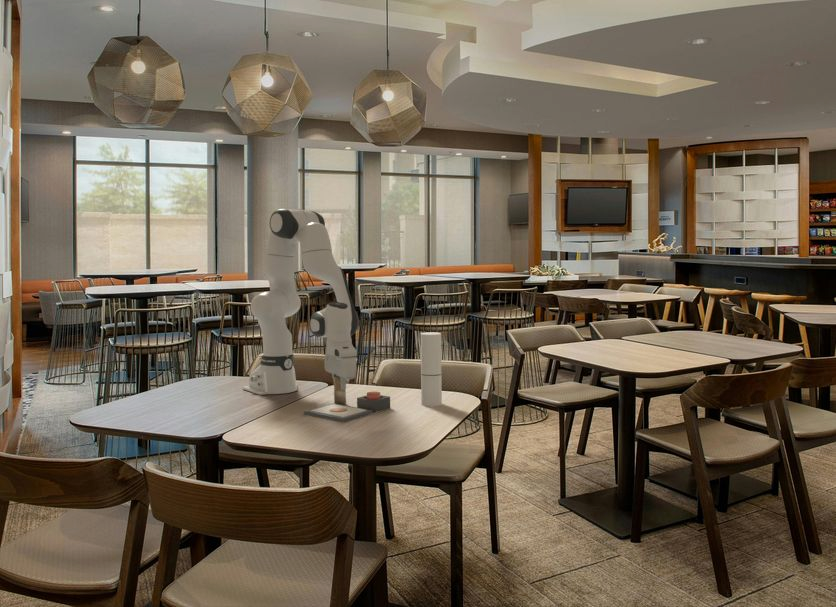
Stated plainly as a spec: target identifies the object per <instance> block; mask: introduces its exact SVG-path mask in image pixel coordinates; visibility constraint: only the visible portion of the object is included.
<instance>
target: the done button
mask: <svg viewBox="0 0 836 607" xmlns="http://www.w3.org/2000/svg"><path fill="white" fill-rule="evenodd" d="M366 395H367V399H372V400H376V399H379V398H380V395H381V392H380V391H369V392H366Z"/></svg>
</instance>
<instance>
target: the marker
mask: <svg viewBox="0 0 836 607" xmlns="http://www.w3.org/2000/svg"><path fill="white" fill-rule="evenodd" d="M340 384H341V380H340V377H339V376H337V375H336V374H334V381H333V394H334V396H333V398H334V399H333V400H334V402H333V403H335V404H341V405H346V406H347V398H346V397H347V396H346V395H347V393H346V390H347V389H344V390H342V389H340Z"/></svg>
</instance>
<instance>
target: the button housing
mask: <svg viewBox="0 0 836 607" xmlns="http://www.w3.org/2000/svg"><path fill="white" fill-rule="evenodd" d="M356 407H357V408H362V409H368V410H373V414H374V413H375V414H376V413H378V412H383V411H386V410H388V409H391V396H388V395H383V394H380V398H379V399H376V400H372V399H367V394H366V395H363V396H359V397H357V398H356ZM382 410H383V411H382Z"/></svg>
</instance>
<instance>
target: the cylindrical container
mask: <svg viewBox="0 0 836 607" xmlns="http://www.w3.org/2000/svg"><path fill="white" fill-rule="evenodd" d="M420 378H421V379H420V387H421V388H420V390H421V392H420V393H421V397H420V402H421V406H424V407H439V406H442V401H443V400H442V399H443V398H442V395H443V394H442V393H443V392H442V391H443V390H442V387H443V386H442V384H443V383H442V333H441V332H439V331H438V332H436V331H435V332H433V331H429V332H427V331H426V332H420Z"/></svg>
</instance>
